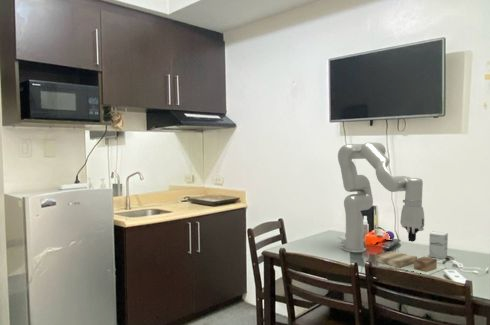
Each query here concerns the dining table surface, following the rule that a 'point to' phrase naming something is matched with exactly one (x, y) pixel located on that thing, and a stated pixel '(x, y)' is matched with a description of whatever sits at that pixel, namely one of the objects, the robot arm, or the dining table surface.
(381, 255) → the birch deck
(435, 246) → the supplement box
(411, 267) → the sage mat
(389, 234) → the kendama
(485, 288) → the dining table surface
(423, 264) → the brown wooden block
